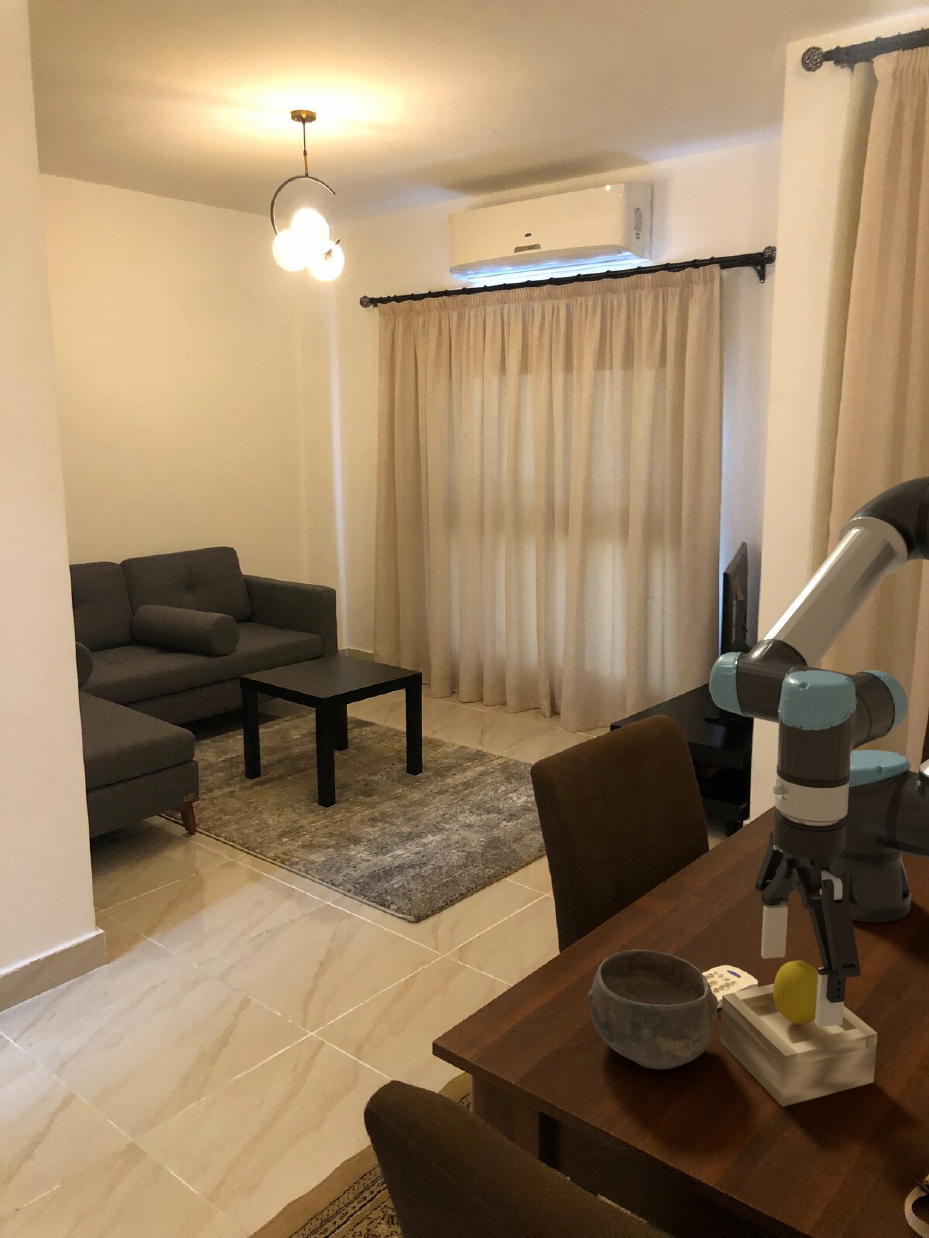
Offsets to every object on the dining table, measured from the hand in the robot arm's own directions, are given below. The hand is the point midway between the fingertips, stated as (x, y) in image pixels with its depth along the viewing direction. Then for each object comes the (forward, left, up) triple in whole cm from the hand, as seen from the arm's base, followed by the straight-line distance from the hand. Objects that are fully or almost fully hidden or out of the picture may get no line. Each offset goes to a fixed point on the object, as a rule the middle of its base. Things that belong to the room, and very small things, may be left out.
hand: (799, 988), depth 111 cm
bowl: (+16, -4, -10) cm, 19 cm away
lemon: (0, 0, -5) cm, 5 cm away
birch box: (0, 0, -10) cm, 10 cm away
